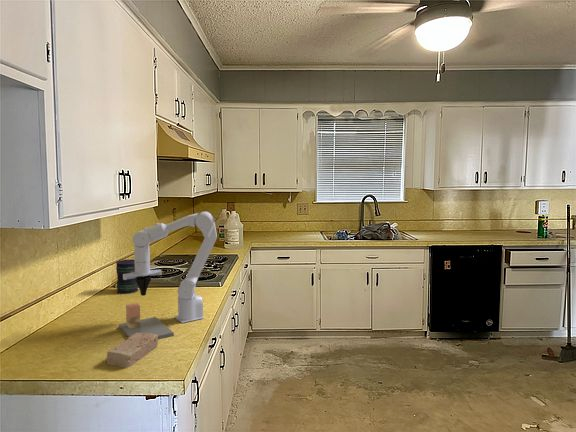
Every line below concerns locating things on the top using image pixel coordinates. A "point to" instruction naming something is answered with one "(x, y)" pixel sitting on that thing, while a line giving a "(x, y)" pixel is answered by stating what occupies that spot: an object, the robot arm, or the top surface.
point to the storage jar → (129, 284)
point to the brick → (132, 349)
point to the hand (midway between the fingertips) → (143, 294)
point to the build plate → (148, 328)
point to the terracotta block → (133, 310)
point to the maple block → (133, 322)
